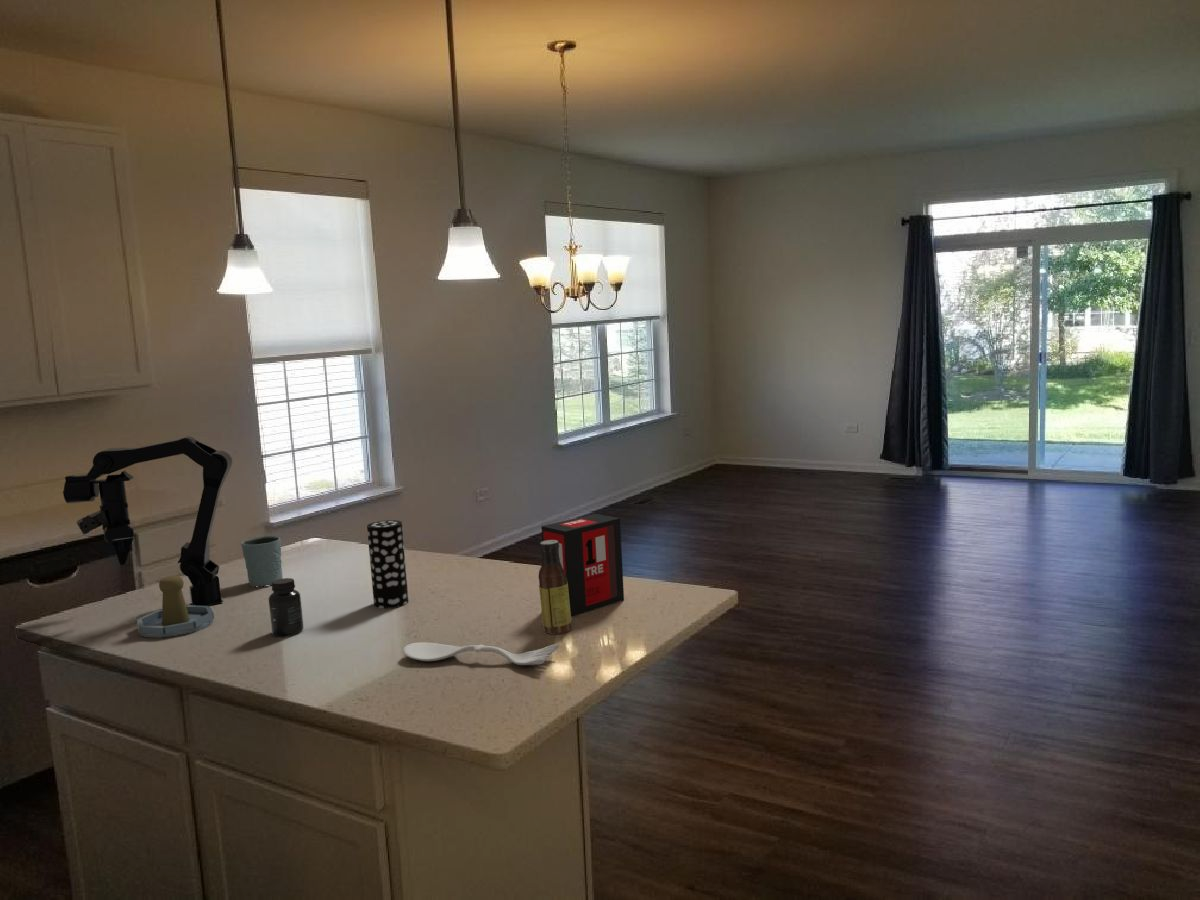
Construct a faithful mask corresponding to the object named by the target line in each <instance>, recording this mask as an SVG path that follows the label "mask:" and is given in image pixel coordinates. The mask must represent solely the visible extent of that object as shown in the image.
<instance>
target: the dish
mask: <svg viewBox="0 0 1200 900" xmlns="http://www.w3.org/2000/svg"><path fill="white" fill-rule="evenodd" d="M186 607H187V611H188V615H189V619H190V621H189V622H185V623H180V624H175V625H169V626H162V609H159V610H155V611H152V612H151V613H148V614H146V615H144V616H142V617H139V618H137V619H136V624H137V629H138V630H137V631H138V635H139V636H141V637H143V636H144V638H148V637H151V638H150V639H163V638H162V637H166V638H170V637H169V636H174V637H179V636H178V635H180V636H183V635H182V634H184V635H188V634H187V633H189V634H191V633H190V632H192V633H195V632H194V631H196V632H198V631H200V629H201V630H203V629H205V627H206V628H207V627H209V626H210V625H212V623H213V622H214V619H215V617H214V611H213V609H212V608H211V605H207V606H194V604H191V605H186Z"/></svg>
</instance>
